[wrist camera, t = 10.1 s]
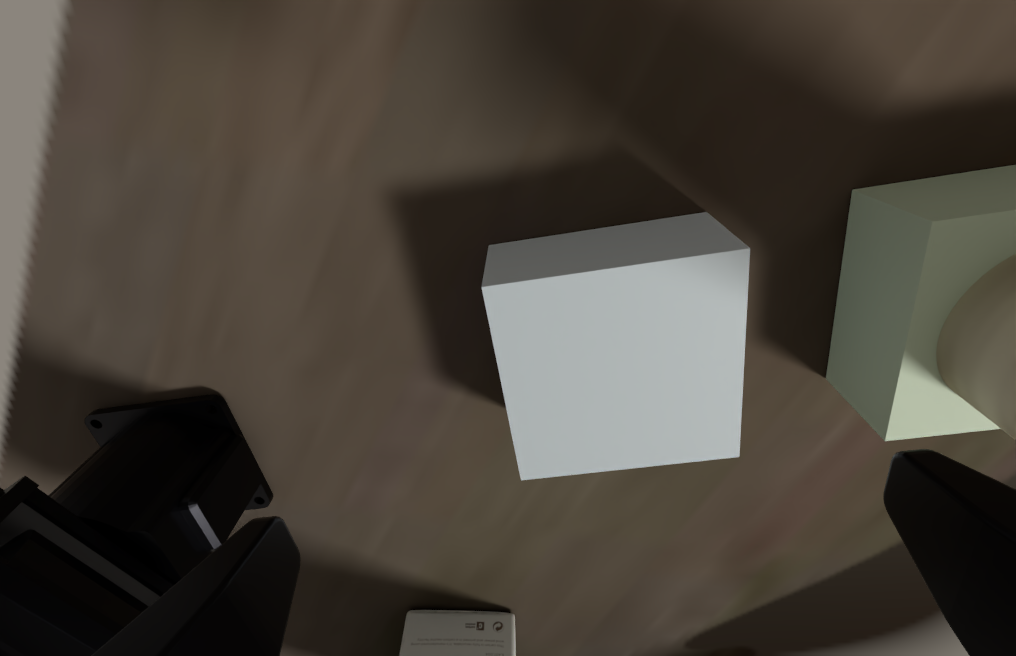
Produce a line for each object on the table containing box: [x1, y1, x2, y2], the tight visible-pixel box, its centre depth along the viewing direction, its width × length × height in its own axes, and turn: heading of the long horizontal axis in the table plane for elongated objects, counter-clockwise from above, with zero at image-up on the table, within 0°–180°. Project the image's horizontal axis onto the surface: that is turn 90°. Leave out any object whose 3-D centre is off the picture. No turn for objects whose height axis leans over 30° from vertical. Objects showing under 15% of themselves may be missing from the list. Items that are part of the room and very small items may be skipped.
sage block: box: [826, 165, 1016, 441], centre depth 18 cm, size 8×8×4 cm
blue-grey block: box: [481, 212, 750, 480], centre depth 19 cm, size 8×8×4 cm
